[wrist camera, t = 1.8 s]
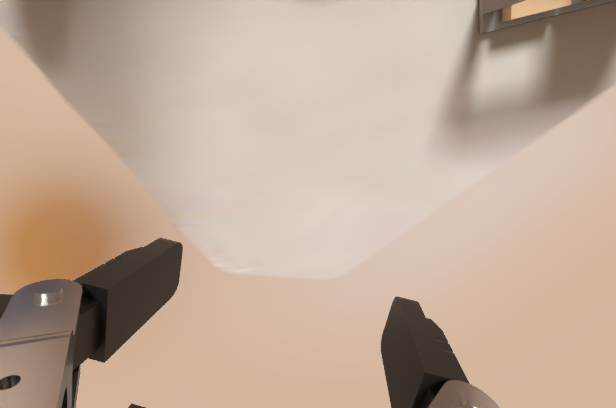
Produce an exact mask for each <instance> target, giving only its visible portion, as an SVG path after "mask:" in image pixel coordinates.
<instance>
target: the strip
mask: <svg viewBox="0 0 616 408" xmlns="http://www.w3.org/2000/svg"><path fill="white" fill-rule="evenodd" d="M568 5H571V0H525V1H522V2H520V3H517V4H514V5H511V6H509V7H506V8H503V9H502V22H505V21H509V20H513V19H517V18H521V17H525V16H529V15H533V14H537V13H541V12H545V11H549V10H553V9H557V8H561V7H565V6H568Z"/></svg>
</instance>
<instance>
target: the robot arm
mask: <svg viewBox="0 0 616 408" xmlns="http://www.w3.org/2000/svg"><path fill="white" fill-rule="evenodd" d="M182 250H183V247H182V244H181V243H180V242H175V241H171V240H167V239H163V238H159V239H157V240H155V241H154V242H152V243H150V244H149V245H147V246H145V247H140V248H137V249H133V250H130V251H126V252H124V253H123V254H121V255H119V256H117V257H116V258H115V259H112V260H110V261H108V262H107V263H106V264H103V265H101V266H99V267H97V268H95V269H94V270H92V271H90V272H88V273H86V274H85V275H83V276H81V277H79V278H77V279H76V280H74V281H71V280H66V279H52V280H45V281H40V282H36V283H32V284H30V285H27V286H25V287H23V288H21V289H19V290H18V291H16V293H14V294H13V295H5V294H0V408H75V407H76V400H77V392H78V385H79V378H80V364H81V363H83V362H84V361H85V360H86V359H87V358H89V359H93V360H97V361H100V362H105V361H107V359H109V358H110V357H111V356H112V355H113V354H114V353H115V352H116V351H117V350H118V349H119V348H120V347H121V346H122V345H123V344H124V343H125V342H126V341H127V340H128V339H129V338H130V337H131V336H132V335H133V334H134V333H135V332H136V331H137V330H138V329H140V327H142V326H143V325H144V324H145V323H146V322H147V321H148V320H149V319H150V318H151V317H152V316H153V315H154V314H155V313H156V312H157V311H158V310H159V309H160V308H161V307H162V306H163V305H164V304H165V303H166V302H167V301H168V300H169V299H170V298H171V297H172V296H173V295H174V293H175V291H176V289H177V286H178V283H179V276H180V267H181V259H182ZM381 353H382V359H383V364H384V370H385V375H386V381H387V386H388V391H389V396H390V402H391V407H392V408H499V406H498V405H497V404H496V403H495V402H494V401H493V400H492V399H491V398H490V397H489V396H488V395H487V394H485V393H484V392H483V391H481V390H480V389H478V388H477V387H475V386H473V385H471V384H469V382H468V380H467V378H466V376H465V374H464V372H463V370H462V368H461V366H460V364H459V362H458V361H457V358H456V357H455V355H454V354H453V351H452V349H451V347H450V345H449V344H448V341H447V339H446V337H445V335H444V333H443V331H442V330H441V329H440V328H439V327H438V326H437V325H436V324H435V323H434V322H433V321H432V320H431V319H428V318H425V315H424V313H423V311H422V309H421V307H420V305H419V303H418V302H417V301H413V300H409V299H405V298H401V297H395V299H394V301H393V303H392V306H391V309H390V312H389V315H388V319H387V322H386V325H385V328H384V331H383V335H382V340H381ZM129 408H145V407H141V406H138V405H134V404H131V405H130V406H129Z"/></svg>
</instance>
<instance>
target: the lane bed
mask: <svg viewBox="0 0 616 408" xmlns="http://www.w3.org/2000/svg"><path fill="white" fill-rule="evenodd" d="M522 1H525V0H479V34H482V33H486V32H490V31H494V30H498V29H502V28H506V27H510V26H514V25H518V24H523V23H527V22H531V21H535V20H539V19H543V18H547V17H551V16H555V15H559V14H563V13H567V12H571V11H575V10H579V9H583V8H587V7H592V6H596V5H600V4H604V3H608V2H612V1H616V0H589V1H585V2H582V0H571V5H568V6H565V7H561V8H557V9H553V10H549V11H545V12H541V13H537V14H533V15H529V16H525V17H521V18H517V19H513V20H509V21H505V22H502V9H503V8H506V7H509V6H511V5H514V4H517V3H520V2H522Z"/></svg>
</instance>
